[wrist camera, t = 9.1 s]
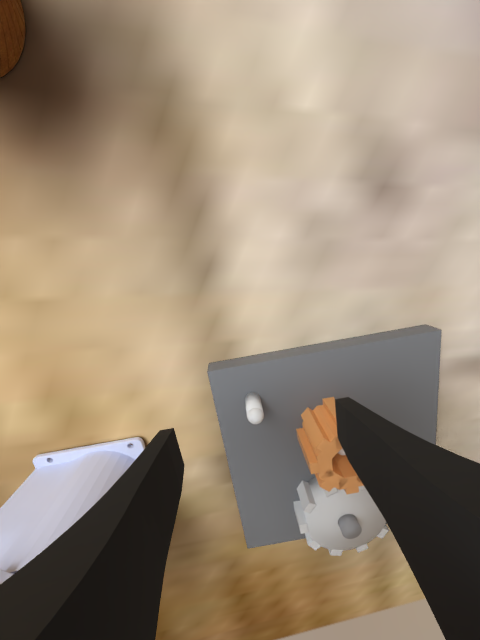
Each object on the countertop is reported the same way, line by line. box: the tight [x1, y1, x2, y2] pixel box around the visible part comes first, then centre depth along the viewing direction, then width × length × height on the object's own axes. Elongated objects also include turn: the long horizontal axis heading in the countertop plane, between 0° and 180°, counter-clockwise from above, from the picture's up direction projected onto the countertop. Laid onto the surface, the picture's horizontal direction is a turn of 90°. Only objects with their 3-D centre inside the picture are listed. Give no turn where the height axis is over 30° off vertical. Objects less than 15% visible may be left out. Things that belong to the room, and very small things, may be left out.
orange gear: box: [296, 397, 364, 494], centre depth 19 cm, size 6×6×4 cm
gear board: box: [207, 325, 441, 556], centre depth 20 cm, size 18×19×4 cm
